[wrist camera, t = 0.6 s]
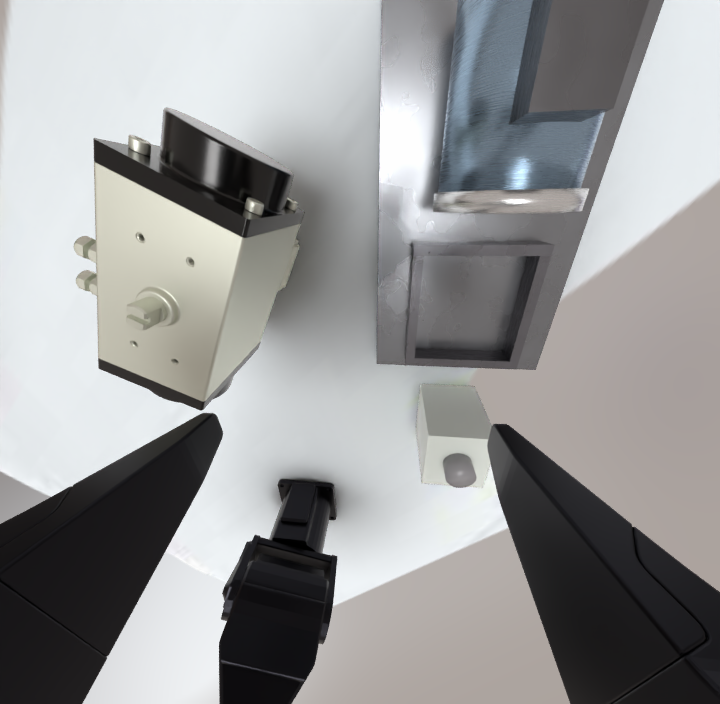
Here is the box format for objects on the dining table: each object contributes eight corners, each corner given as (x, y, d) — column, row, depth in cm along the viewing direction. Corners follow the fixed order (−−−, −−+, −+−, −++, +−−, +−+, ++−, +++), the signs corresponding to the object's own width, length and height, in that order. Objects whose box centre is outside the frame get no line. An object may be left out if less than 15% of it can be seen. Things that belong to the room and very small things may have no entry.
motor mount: (529, 362, 22) (600, 446, 14) (377, 357, 23) (370, 432, 15) (659, -31, 12) (1086, -398, 5) (382, -6, 13) (371, -266, 6)
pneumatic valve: (334, 185, 17) (243, 163, 7) (278, 334, 23) (181, 449, 12) (249, 138, 16) (0, 30, 6) (213, 304, 22) (52, 398, 11)
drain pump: (464, 429, 26) (487, 503, 19) (415, 426, 26) (423, 498, 20) (474, 385, 23) (504, 454, 17) (420, 383, 24) (430, 449, 17)
